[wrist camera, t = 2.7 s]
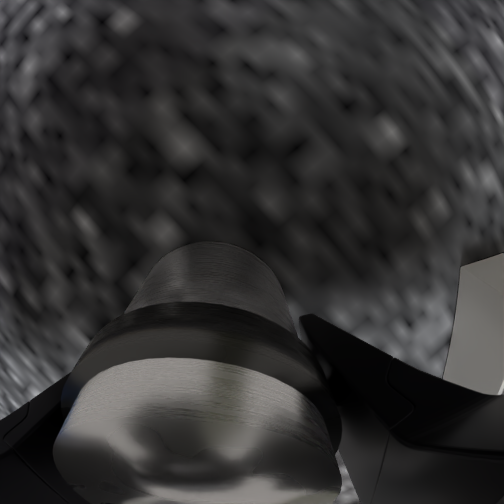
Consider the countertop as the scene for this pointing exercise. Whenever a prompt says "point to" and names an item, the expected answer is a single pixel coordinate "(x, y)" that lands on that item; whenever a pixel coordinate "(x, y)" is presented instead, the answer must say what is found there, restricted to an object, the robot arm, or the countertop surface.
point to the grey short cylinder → (201, 394)
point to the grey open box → (479, 328)
